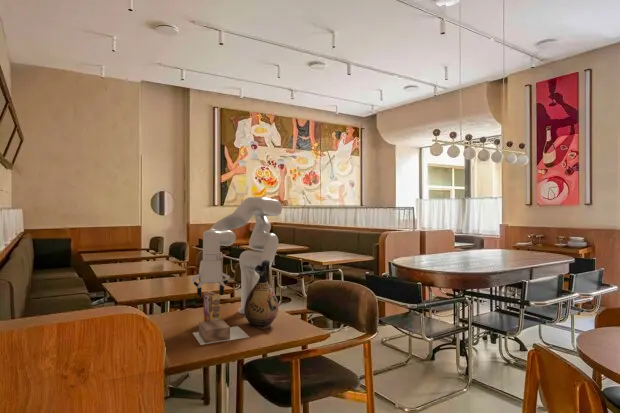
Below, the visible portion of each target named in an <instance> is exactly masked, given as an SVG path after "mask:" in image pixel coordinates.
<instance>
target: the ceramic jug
mask: <svg viewBox="0 0 620 413" xmlns="http://www.w3.org/2000/svg"><path fill="white" fill-rule="evenodd" d="M269 265H270V262H269V261H268V260H264V261H263V262H262V265H261V266H260V265H257V266H256V268H255V271H256V272H257V273H258V274H259V276H260V278H259V280H258V282H257V284H256V285H255V286H254V288H253V289H252V290H251V292H250V294H249V295H248V297H247V300H246V303H245V307H244V313H245V314H244V317H245V318H246V320H247V322H248V323H249V325H250V326H251V327H254V328H257V330H258V329H259V330H265V329H269V328H270V327H271V326H272V323H273V322H274V321H275V320H276V319H277V317H278V313H279V302H278V298H277V295H276V294H275V292H274V290H273V288H272V287H271V285H270V284H269V281H268V276H269V271H270V268H269Z"/></svg>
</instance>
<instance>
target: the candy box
mask: <svg viewBox="0 0 620 413" xmlns="http://www.w3.org/2000/svg"><path fill="white" fill-rule="evenodd" d="M220 307H221V295H220V294H219V293H217V292H214V291H204V292H203V310H202V311H203V315H202V316H203V317H202V320H203V321H202V322H205V321H213V320H220V319H221V317H220V313H221V312H220V311H221V308H220Z"/></svg>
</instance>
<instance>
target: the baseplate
mask: <svg viewBox="0 0 620 413" xmlns="http://www.w3.org/2000/svg"><path fill="white" fill-rule="evenodd" d="M192 335H193V336H194V337H195V339H196V340H197V341H198V344H199V345H200V346H201V345H209V344H215V343H222V342H226V341H234V340H240V339H246V338H250V336H249V335H248V334H247V333H246V332H245V331H244V330H243V328H241V327H239V326H238V325H237V326H232V327H231V326H230V339H228V340H222V341H216V342H209V343H205V342H204V341H203V339H202V338H201V337H200V335H199V331H196V332H195V331H194V332H192Z"/></svg>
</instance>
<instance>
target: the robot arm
mask: <svg viewBox="0 0 620 413" xmlns="http://www.w3.org/2000/svg"><path fill="white" fill-rule="evenodd" d="M282 211H283V205H282V203H281V202H280V200H277V199H274V198H273V199H272V198H268V197H262V196H250V197H246V198H244V200H243V201H242V202H241V203H240V204H239V205H238V206H237V208H236V209H235V210H234V211H233V212H232V213H230V214H228V215H226V216H225V217H224V216H223V218H220V219H219V220H217V221H216V222H215V223H214V224H213V225H212V226H211V227H210V228H209V229H208V230H204V232H203V234H202V260H200V262H199V270H198V274H196V275H194V276H193V277H191V278H190V280H191V283H192V284H193V285H194V286H195V287H196V295H197V296H198V298H201V297H202V286H203V285H204V284H218V283H219V284H220V285H219V292H218V294H220V296H224V295H223V294H224V292H225V285H226V284H227V283H228V282H229V280H230V279H231V278H230V277H231V276H230V275H228V274H226V273H224V272H223V264H222V260H221V259H222V258H224V255H223V254H221V246H225V247H229V246H231V245H233V244H234V243H236V240H237V235H236V233H235V232H234V231H232V230H236V229H239V228H242V227H244V226H246V225H247V224H248V223H249V221H250V220H251V218H253V216H254V218H255V224H254V227H253V230H252V232H251V235H250V237H249V240H248V246H249V248H250V250H244V251H242V252H241V253H240V255H239V259H238V261H239V267H240V275H241V276H240V279H241V283H240V284H241V286H240V288H241V289H240V291H241V294H240V296H241V297H240V306H241V307H239V309H238V310H237V313H239V314H241V315H245V313H244V307H245V303H246V300H247V297H248V295H249V294H250V292H251V290H252V289H253V288H254V286H255V285H256V284H257V282H258V280H259V278H260V275H259V274H258V273H257V272H256V271H255V268H256V266H257V265H260V266H261V265H262V262H263V261H264V260H268V261H269V262H270V265H269V269H270V268H271V267H272V265H273V262H274V259H275V257H276V254H277V251H278V248H279V238H278V236H277V235H276V234H275V233H273V232H270V231H271V228H272V226H271V222H270V220H269V218H268V217H278V216H279V215H280V214H281V213H282ZM223 277H224V278H225V279H224V278H223ZM197 279H198V282H197V281H196V280H197ZM223 279H224V280H223Z"/></svg>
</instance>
